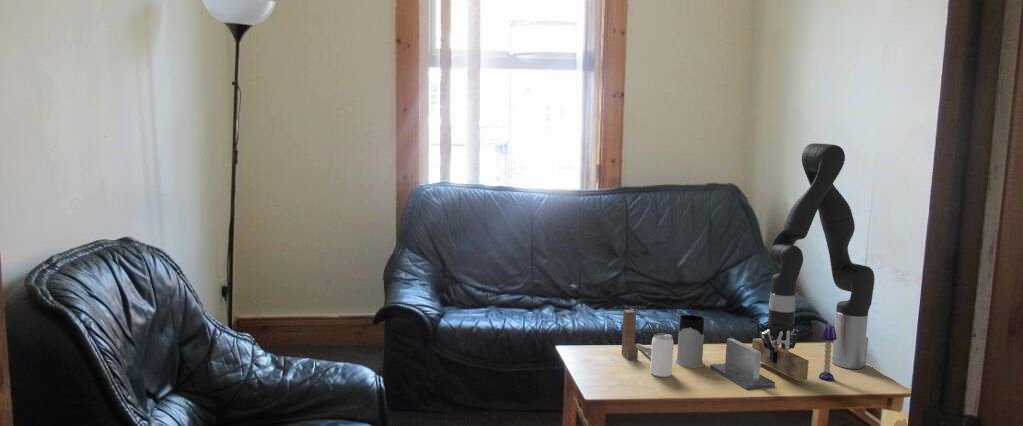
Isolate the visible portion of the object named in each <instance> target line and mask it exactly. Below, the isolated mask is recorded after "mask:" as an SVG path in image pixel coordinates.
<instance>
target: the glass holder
mask: <svg viewBox="0 0 1023 426" xmlns="http://www.w3.org/2000/svg"><path fill="white" fill-rule="evenodd" d="M704 328H705V318H704V317H703V316H700V315H696V314H695V315H694V314H682V315H680V316H679V329H678V337H677V339H678V340H677V355H676V359H675V364H676V365H678V366H681V367H684V368H689V369H690V368H691V369H693V368H694V369H699V368H702V367H704V363H703V358H704V357H703V355H704V354H703V353H704V340H705V339H704V337H705V332H704V330H705V329H704Z"/></svg>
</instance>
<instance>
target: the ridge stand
mask: <svg viewBox="0 0 1023 426" xmlns="http://www.w3.org/2000/svg"><path fill="white" fill-rule="evenodd" d="M725 344H726V347H725V361H724V362H725V363H715V364H710V365H709V366H710V367H709V368H710V369H711V370H712V371H714V372H716V373H717V374H719V375H721V376H723V377H724V378H726V379H727V380H730V381H731V382H733V383H734V384H736V385H738V386H740V388H741V387H742V389H744V390H752V389H761V388H762V389H763V388H774V387H776V386H775V385H776V382H775V381H773V380H772V379H769V378H768V377H766V376H764V375H762V374H760V373H761V363H762V362H761V352H760V351H758V350H755V349H753V348H752V346H750V345H747V344H745V343H743V342H741V341H739V340H737V339H735V338H729V337H728V338H727V339H726V343H725Z"/></svg>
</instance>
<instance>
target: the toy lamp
mask: <svg viewBox="0 0 1023 426" xmlns="http://www.w3.org/2000/svg"><path fill="white" fill-rule="evenodd" d="M819 337H820V339H821V340H824V342H825V344H824V348H825V349H824V359H823V361H824V363H823V371H822V372H820V374H819V375H818V379H820V380H822V381H827V382H833V381H835V377H834V374H832V373H831V363H832V358H831V357H832V353H831V352H832V342H834V340H836V339H837V336H836V332H835V325H833V324H824V325H823V326H822V329H821V331H820V335H819Z"/></svg>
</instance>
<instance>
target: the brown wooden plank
mask: <svg viewBox="0 0 1023 426" xmlns="http://www.w3.org/2000/svg"><path fill="white" fill-rule="evenodd" d="M751 348H753V349H755V350H758V351H760V352H761V362H760V363H763V364H765V365H766V366H769V367H771V368H773V369H774V370H776V371H779V372H781V373H783V374H784V375H786V376H788V377H790V378H792V379H794V380H795V381H798V382H802V381H808V373H809V372H808V371H809V363H810V362H809V360H808V359H806V358H804V357H801V356H800V355H797V354H796V353H793V352H792V351H791V352H790V350H789V351H787V350H785V349H783V348H781V346H780V345H779V346H778V350H777V363H775V364H774V363H772V362H771V361H770V350H768V349H766V348H765V347H764V344H763V342H762V339H761V337H759V338H758V337H757V338H752V345H751Z"/></svg>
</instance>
